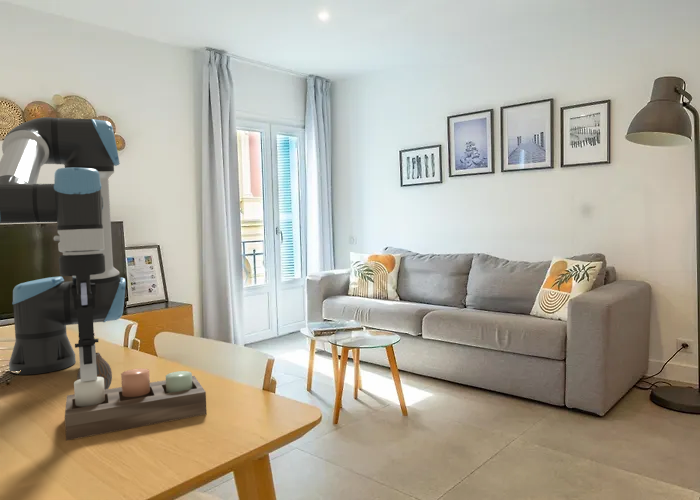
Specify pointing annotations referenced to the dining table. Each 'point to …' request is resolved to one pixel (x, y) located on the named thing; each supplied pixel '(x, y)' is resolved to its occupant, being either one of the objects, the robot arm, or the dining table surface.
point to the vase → (101, 371)
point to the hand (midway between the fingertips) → (89, 379)
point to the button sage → (178, 381)
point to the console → (133, 410)
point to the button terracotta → (135, 382)
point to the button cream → (89, 392)
